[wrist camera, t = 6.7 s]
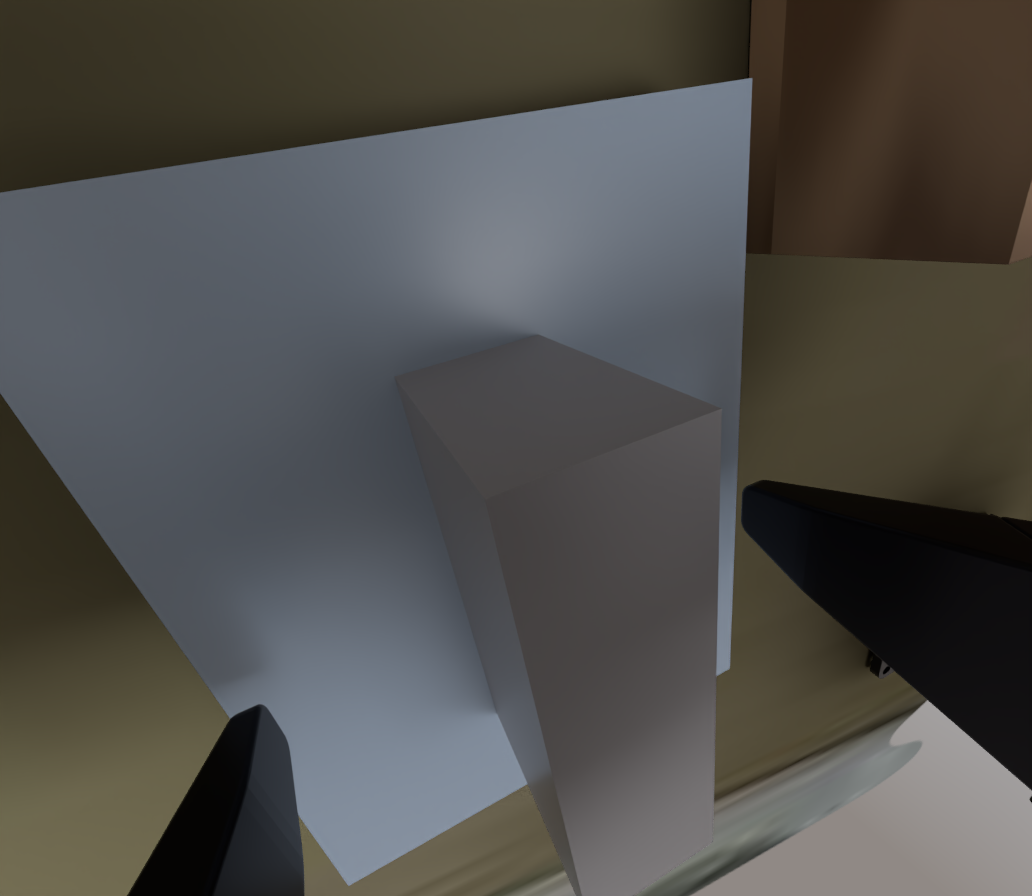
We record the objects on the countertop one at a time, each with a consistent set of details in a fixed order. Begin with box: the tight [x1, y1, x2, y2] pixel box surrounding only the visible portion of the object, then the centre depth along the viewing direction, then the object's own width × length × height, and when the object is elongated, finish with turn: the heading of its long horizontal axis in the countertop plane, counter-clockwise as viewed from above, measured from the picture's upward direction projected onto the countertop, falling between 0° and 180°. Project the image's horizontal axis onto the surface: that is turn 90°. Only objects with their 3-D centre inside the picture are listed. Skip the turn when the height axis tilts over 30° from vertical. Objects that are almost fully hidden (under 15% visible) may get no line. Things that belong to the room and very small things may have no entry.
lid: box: [0, 78, 752, 896], centre depth 9 cm, size 14×11×6 cm
